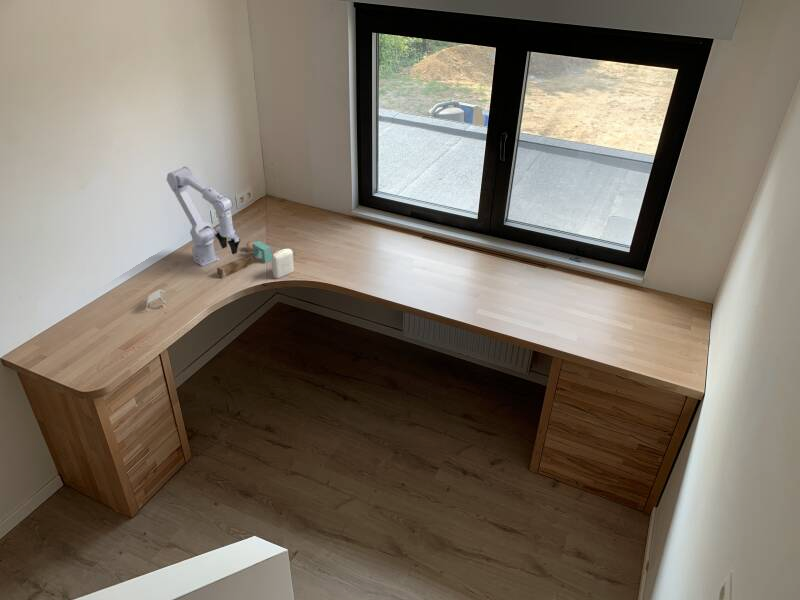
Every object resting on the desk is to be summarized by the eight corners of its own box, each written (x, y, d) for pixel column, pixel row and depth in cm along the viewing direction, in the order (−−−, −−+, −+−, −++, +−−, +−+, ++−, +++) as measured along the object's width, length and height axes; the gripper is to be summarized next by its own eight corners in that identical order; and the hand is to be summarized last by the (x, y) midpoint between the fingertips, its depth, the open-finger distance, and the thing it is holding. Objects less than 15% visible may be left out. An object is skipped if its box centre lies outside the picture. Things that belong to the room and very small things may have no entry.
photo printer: (289, 268, 288) (288, 245, 281) (295, 271, 285) (293, 248, 278) (271, 276, 281) (269, 252, 274) (277, 279, 279) (275, 256, 272)
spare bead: (250, 253, 298) (249, 246, 296) (245, 250, 300) (244, 243, 298) (258, 250, 300) (257, 243, 298) (252, 247, 303) (251, 240, 301)
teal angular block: (265, 263, 291) (263, 250, 287) (253, 256, 295) (252, 243, 291) (272, 260, 293) (270, 247, 289) (260, 253, 298) (258, 240, 294)
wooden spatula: (221, 278, 278) (220, 270, 276) (217, 275, 280) (216, 268, 278) (254, 264, 290) (253, 256, 287) (250, 261, 291) (249, 254, 289)
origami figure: (165, 312, 255) (163, 302, 253) (144, 312, 255) (142, 302, 252) (171, 296, 265) (169, 286, 262) (151, 296, 265) (149, 286, 262)
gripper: (243, 225, 271) (246, 252, 279) (223, 215, 279) (227, 242, 287) (230, 231, 267) (233, 258, 274) (210, 220, 274) (214, 247, 282)
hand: (229, 250), depth 280 cm, fingers open, 7 cm apart
